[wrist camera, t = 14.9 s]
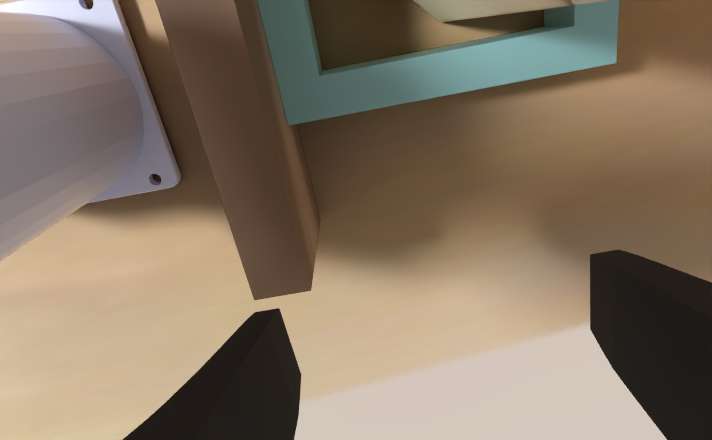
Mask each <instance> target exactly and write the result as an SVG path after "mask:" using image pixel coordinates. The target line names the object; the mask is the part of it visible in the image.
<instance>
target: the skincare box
mask: <svg viewBox="0 0 712 440" xmlns="http://www.w3.org/2000/svg"><path fill="white" fill-rule="evenodd" d="M413 1H414V2H415V3H417V4H418V5H419V6H420V7H421V8H423V9H424V10H425V11H426V12H427V13H429V14H430V15H431V16H432V17H433V18H435V19H436V20H437V21H439V22H448V21H455V20H463V19H471V18H480V17H488V16H495V15H502V14H512V13H518V12H527V11H533V10H544V9H550V8H558V7H565V6H573V5H579V4H590V3H599V2H607V1H616V0H413Z"/></svg>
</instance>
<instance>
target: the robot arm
mask: <svg viewBox="0 0 712 440" xmlns="http://www.w3.org/2000/svg"><path fill="white" fill-rule="evenodd" d="M93 3H94V5H93V7H92V8H91V9H89V8H87V6H86V5H85V0H17V1H13V2H8V3H3V4H0V261H1V260H2V259H4V258H5V257H7V256H8V255H10V254H11V253H13V252H14V251H16V250H17V249H19V248H20V247H22V246H23V245H25V244H26V243H28V242H29V241H31V240H32V239H34V238H35V237H37V236H38V235H40V234H41V233H43V232H44V231H46V230H47V229H49V228H50V227H52V226H53V225H55V224H56V223H58V222H59V221H61V220H62V219H64V218H65V217H67V216H68V215H70V214H71V213H73V212H74V211H76V210H77V209H79V208H80V207H82V206H83V205H85V204H87V203H92V202H97V201H103V200H108V199H114V198H119V197H124V196H130V195H135V194H140V193H146V192H151V191H157V190H162V189H167V188H172V187H174V186H175V185H177V184H178V182H179V181H180V178H181V175H180V171H179V168H178V166H177V163H176V160H175V157H174V155H173V152H172V149H171V146H170V144H169V141H168V138H167V135H166V132H165V130H164V127H163V124H162V121H161V119H160V116H159V113H158V110H157V108H156V105H155V102H154V99H153V96H152V94H151V91H150V88H149V85H148V83H147V80H146V77H145V74H144V72H143V69H142V66H141V63H140V61H139V58H138V55H137V52H136V49H135V47H134V44H133V41H132V38H131V36H130V33H129V30H128V27H127V25H126V22H125V19H124V16H123V13H122V11H121V8H120V5H119V2H118V0H93ZM153 174H157V175H159V176H160V178H161V182H156V181H155V180H154V179H153ZM590 329H591V331H592V333H593V335H594V336H595V338H596V340H597V342H598V344H599V345H600V347H601V349H602V351H603V352H604V354H605V356H606V358H607V359H608V361H609V362H610V364H611V366H612V368H613V369H614V370H615V372H616V373H617V374H618V376H619V377H620V379H621V380H622V381H623V383H624V384H625V385H626V386H627V388H628V389H629V390H630V392H631V393H632V394H633V396H634V397H635V398H636V400H637V401H638V402H639V403H640V405H641V406H642V407H643V409H644V410H645V411H646V413H647V414H648V415H649V417H650V418H651V419H652V420H653V422H654V423H655V424H656V426H657V427H658V428H659V430H660V431H661V432H662V433H663V435H664V436H665V437H666V439H667V440H712V283H711V282H708V281H706V280H703V279H700V278H697V277H695V276H692V275H689V274H687V273H684V272H681V271H679V270H676V269H673V268H671V267H668V266H665V265H663V264H660V263H657V262H655V261H652V260H649V259H646V258H644V257H641V256H638V255H635V254H632V253H629V252H625V251H622V250H614V251H608V252H602V253H597V254H591V255H590ZM300 386H301V373H300V370H299V367H298V364H297V361H296V358H295V355H294V352H293V349H292V346H291V343H290V340H289V337H288V334H287V331H286V328H285V325H284V321H283V318H282V315H281V312H280V309H279V308H278V309H272V310H266V311H260V312H255V313H254V314H253V315H251V316H250V317H249V318H248V319H247V320H246V321H245V322H244V323H243V324H242V325H241V326H240V327H239V329H238V330H237V331H236V332H235V333H234V334H233V335H232V336H231V337H230V338H229V339H228V340H227V341H226V342H225V343H224V344H223V346H222V347H221V348H220V349H219V350H218V351H217V352H216V353H215V354H214V355H213V356H212V357H211V358H210V359H209V360H208V361H207V362H206V363H205V364H204V365H203V367H202V368H201V369H200V370H199V371H198V372H197V373H196V374H195V375H194V376H192V377H191V378H190V379H189V380H188V381H187V382H186V383H185V384H184V385H183V386H182V387H181V388H180V389H179V390H178V391H177V392H176V393H175V394H174V395H173V396H172V397H171V398H170V399H169V400H168V401H167V402H166V403H165V404H164V405H162V406H161V407H160V408H159V409H158V410H157V411H156V412H155V413H154V414H152V415H151V416H150V417H149V418H148V419H147V420H146V421H144V422H143V423H142V424H141V425H140V426H138V427H137V428H136V429H135V430H134V431H132V432H131V433H130V434H129V435H128V436H126V437H125V438H124V439H123V440H294V435H295V431H296V426H297V420H298V414H299V402H300Z"/></svg>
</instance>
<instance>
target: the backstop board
mask: <svg viewBox="0 0 712 440" xmlns="http://www.w3.org/2000/svg"><path fill="white" fill-rule="evenodd" d="M155 1H156V4H157V7H158V10H159V13H160V16H161V19H162V22H163V25H164V28H165V31H166V34H167V37H168V40H169V43H170V46H171V49H172V52H173V56H174V59H175V62H176V65H177V68H178V71H179V74H180V77H181V80H182V83H183V86H184V89H185V92H186V95H187V98H188V101H189V104H190V107H191V110H192V113H193V116H194V119H195V122H196V125H197V128H198V131H199V134H200V137H201V140H202V143H203V146H204V149H205V152H206V155H207V158H208V161H209V164H210V167H211V170H212V174H213V177H214V180H215V183H216V186H217V189H218V192H219V195H220V198H221V201H222V204H223V207H224V210H225V213H226V216H227V219H228V222H229V225H230V228H231V231H232V234H233V237H234V240H235V243H236V246H237V249H238V252H239V255H240V258H241V261H242V264H243V267H244V270H245V273H246V276H247V279H248V282H249V285H250V288H251V292H252V295H253V298H254V300H258V299H264V298H270V297H276V296H282V295H288V294H294V293H299V292H305V291H311V287H312V279H313V271H314V264H315V256H316V249H317V241H318V234H319V226H320V218H319V213H318V209H317V205H316V201H315V196H314V192H313V188H312V184H311V180H310V175H309V171H308V167H307V163H306V159H305V154H304V150H303V146H302V142H301V137H300V133H299V129H298V125H297V124H295V125H289V126H288V123H287V119H286V115H285V110H284V106H283V102H282V98H281V94H280V90H279V86H278V82H277V78H276V74H275V70H274V66H273V62H272V58H271V54H270V50H269V46H268V42H267V37H266V33H265V29H264V25H263V21H262V17H261V13H260V9H259V5H258V1H257V0H155Z"/></svg>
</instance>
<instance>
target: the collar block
mask: <svg viewBox="0 0 712 440" xmlns="http://www.w3.org/2000/svg"><path fill="white" fill-rule="evenodd" d="M257 1H258V5H259V9H260V13H261V17H262V21H263V25H264V29H265V33H266V37H267V42H268V46H269V50H270V54H271V58H272V62H273V66H274V70H275V74H276V78H277V82H278V86H279V90H280V94H281V98H282V102H283V106H284V110H285V115H286V119H287V123H288V126H289V125H295V124H300V123H305V122H310V121H316V120H321V119H326V118H331V117H336V116H342V115H347V114H352V113H357V112H363V111H368V110H373V109H378V108H384V107H389V106H394V105H399V104H404V103H410V102H415V101H420V100H425V99H431V98H436V97H441V96H446V95H451V94H457V93H462V92H467V91H472V90H478V89H483V88H488V87H493V86H499V85H504V84H509V83H514V82H519V81H525V80H530V79H535V78H540V77H546V76H551V75H556V74H561V73H566V72H572V71H577V70H582V69H587V68H593V67H598V66H603V65H608V64H613V63H616V57H617V38H618V19H619V0H616V1H607V2H599V3H590V4H579V5H573V6H565V7H558V8H550V9H544V27H540V28H535V29H530V30H525V31H519V32H514V33H509V34H504V35H499V36H494V37H489V38H484V39H479V40H474V41H469V42H464V43H459V44H454V45H449V46H443V47H438V48H433V49H428V50H423V51H418V52H413V53H408V54H403V55H398V56H393V57H388V58H383V59H378V60H373V61H367V62H362V63H357V64H352V65H347V66H342V67H337V68H332V69H327V70H322V65H321V61H320V56H319V51H318V46H317V41H316V36H315V31H314V26H313V21H312V17H311V12H310V7H309V2H308V0H257Z"/></svg>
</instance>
